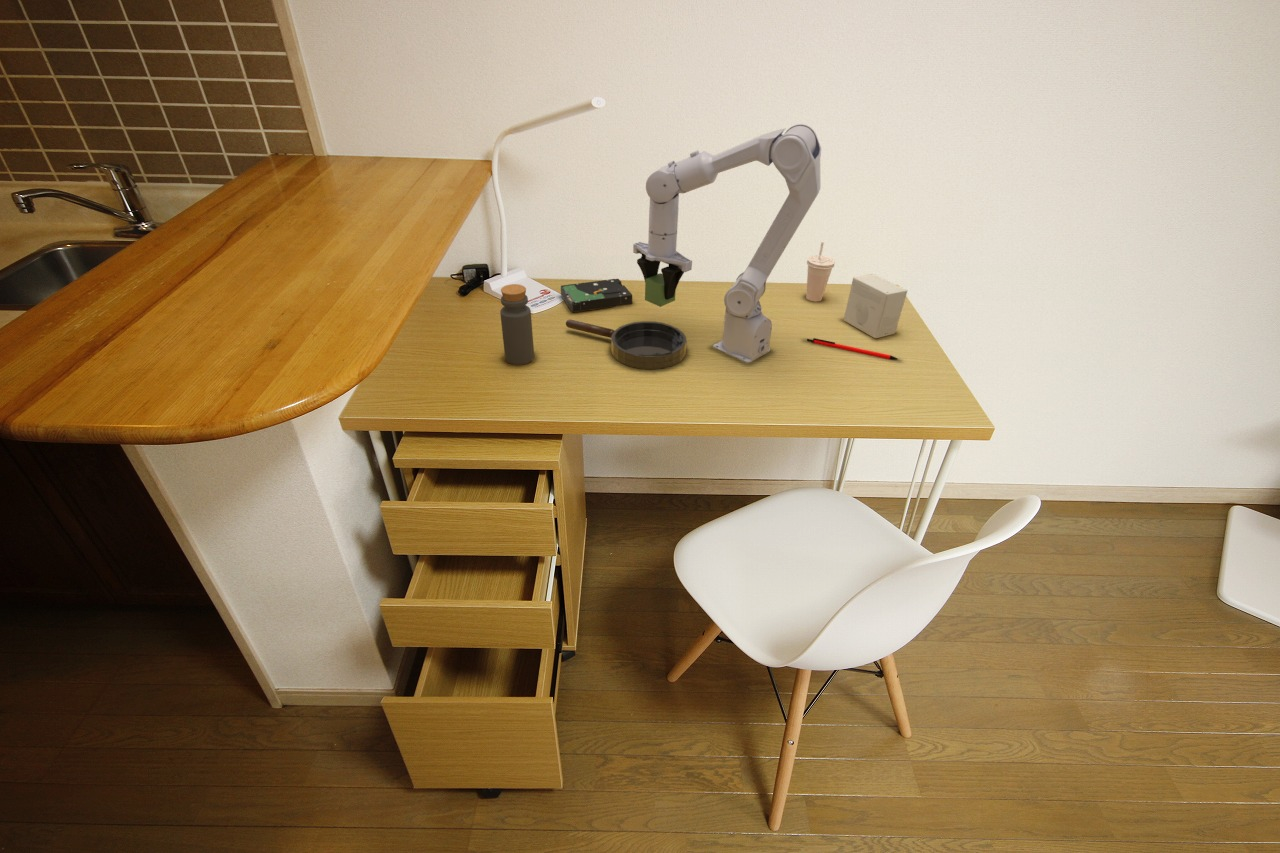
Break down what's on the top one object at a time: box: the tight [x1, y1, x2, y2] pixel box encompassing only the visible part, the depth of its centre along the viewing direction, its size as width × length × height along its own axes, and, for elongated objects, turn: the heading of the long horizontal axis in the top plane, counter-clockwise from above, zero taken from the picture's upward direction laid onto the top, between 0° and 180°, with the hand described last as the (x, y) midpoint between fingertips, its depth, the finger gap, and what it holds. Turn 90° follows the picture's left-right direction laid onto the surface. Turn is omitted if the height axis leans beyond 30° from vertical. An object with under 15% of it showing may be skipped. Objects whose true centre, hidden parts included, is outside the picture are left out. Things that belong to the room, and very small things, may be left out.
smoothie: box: [805, 241, 836, 303], centre depth 156 cm, size 6×6×14 cm
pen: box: [806, 337, 899, 361], centre depth 139 cm, size 1×19×1 cm, turn 66°
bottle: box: [499, 283, 535, 366], centre depth 129 cm, size 6×6×15 cm
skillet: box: [610, 320, 687, 370], centre depth 136 cm, size 15×15×3 cm
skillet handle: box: [565, 319, 615, 339], centre depth 140 cm, size 12×2×2 cm, turn 65°
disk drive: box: [560, 278, 633, 313], centre depth 156 cm, size 10×3×15 cm
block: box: [644, 272, 677, 308], centre depth 138 cm, size 5×5×5 cm
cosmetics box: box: [843, 273, 908, 339], centre depth 145 cm, size 10×6×10 cm, turn 28°
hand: (660, 294), depth 139 cm, fingers closed on block, 4 cm apart
